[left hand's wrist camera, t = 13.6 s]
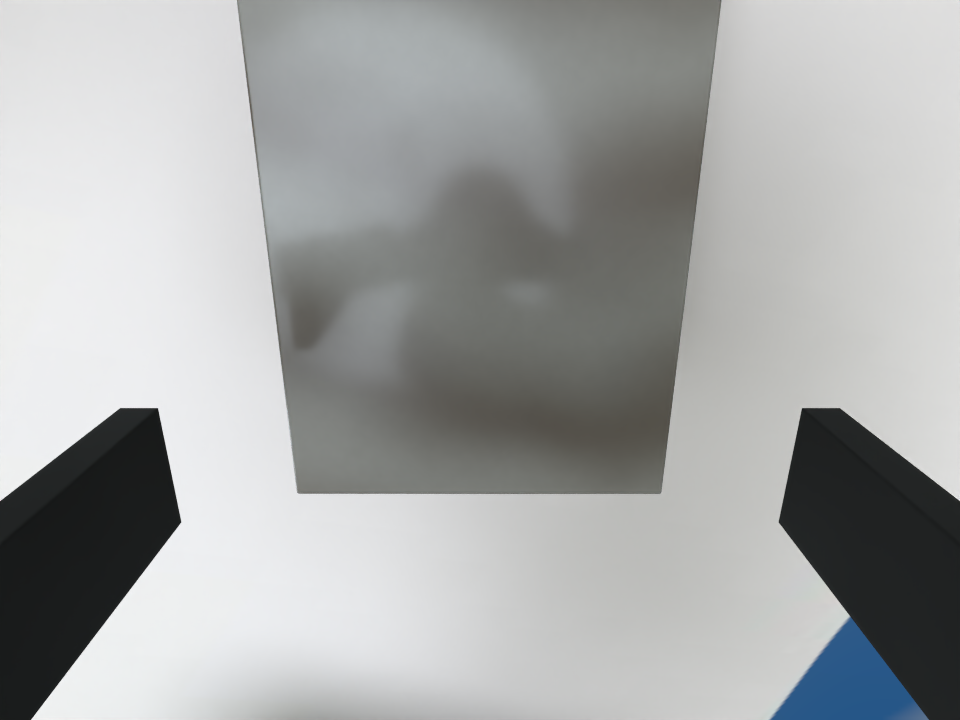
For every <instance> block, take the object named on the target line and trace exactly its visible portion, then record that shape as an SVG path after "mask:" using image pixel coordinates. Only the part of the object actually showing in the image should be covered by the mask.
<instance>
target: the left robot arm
mask: <svg viewBox="0 0 960 720" xmlns="http://www.w3.org/2000/svg"><path fill="white" fill-rule="evenodd" d="M180 523H181V519H180V514H179V509H178V504H177V499H176V494H175V489H174V484H173V480H172V475H171V470H170V465H169V460H168V455H167V450H166V446H165V441H164V436H163V431H162V426H161V421H160V416H159V411H158V408H120V409H119V410H117V411H116V412H115V413H114V414H112V415H111V416H110V417H108V418H107V419H106V420H104V421H103V422H102V423H101V424H99V425H98V426H97V427H95V428H94V429H93V430H92V431H90V432H89V433H88V434H86V435H85V436H84V437H83V438H81V439H80V440H79V441H77V442H76V443H75V444H74V445H72V446H71V447H70V448H68V449H67V450H66V451H64V452H63V453H62V454H61V455H59V456H58V457H57V458H55V459H54V460H53V461H52V462H50V463H49V464H48V465H46V466H45V467H44V468H43V469H41V470H40V471H39V472H37V473H36V474H35V475H33V476H32V477H31V478H30V479H28V480H27V481H26V482H24V483H23V484H22V485H21V486H19V487H18V488H17V489H15V490H14V491H13V492H12V493H10V494H9V495H8V496H6V497H5V498H4V499H2V500H1V501H0V720H31V719H32V718H33V716H34V715H35V714H36V712H37V711H38V710H39V708H40V707H41V706H42V705H43V703H44V702H45V701H46V699H47V698H48V697H49V695H50V694H51V693H52V691H53V690H54V689H55V687H56V686H57V685H58V683H59V682H60V681H61V680H62V678H63V677H64V676H65V674H66V673H67V672H68V670H69V669H70V668H71V666H72V665H73V664H74V662H75V661H76V660H77V659H78V657H79V656H80V655H81V653H82V652H83V651H84V649H85V648H86V647H87V645H88V644H89V643H90V641H91V640H92V639H93V638H94V636H95V635H96V634H97V632H98V631H99V630H100V628H101V627H102V626H103V624H104V623H105V622H106V620H107V619H108V618H109V616H110V615H111V614H112V613H113V611H114V610H115V609H116V607H117V606H118V605H119V603H120V602H121V601H122V599H123V598H124V597H125V595H126V594H127V593H128V592H129V590H130V589H131V588H132V586H133V585H134V584H135V582H136V581H137V580H138V578H139V577H140V576H141V574H142V573H143V572H144V571H145V569H146V568H147V567H148V565H149V564H150V563H151V561H152V560H153V559H154V557H155V556H156V555H157V553H158V552H159V551H160V549H161V548H162V547H163V546H164V544H165V543H166V542H167V540H168V539H169V538H170V536H171V535H172V534H173V532H174V531H175V530H176V528H177V527H178V526H179V525H180ZM779 523H780V525H781V526H782V527H783V528H784V530H785V531H786V532H787V534H788V535H789V536H790V538H791V539H792V540H793V542H794V543H795V544H796V546H797V547H798V548H799V549H800V551H801V552H802V553H803V555H804V556H805V557H806V559H807V560H808V561H809V563H810V564H811V565H812V567H813V568H814V569H815V571H816V572H817V573H818V574H819V576H820V577H821V578H822V580H823V581H824V582H825V584H826V585H827V586H828V588H829V589H830V590H831V592H832V593H833V594H834V595H835V597H836V598H837V599H838V601H839V602H840V603H841V605H842V606H843V607H844V609H845V610H846V611H847V613H848V614H849V615H850V616H851V618H852V619H853V620H854V622H855V623H856V624H857V626H858V627H859V628H860V630H861V631H862V632H863V634H864V635H865V636H866V637H867V639H868V640H869V641H870V643H871V644H872V645H873V647H874V648H875V649H876V651H877V652H878V653H879V654H880V656H881V657H882V658H883V660H884V661H885V662H886V664H887V665H888V666H889V668H890V669H891V670H892V672H893V673H894V674H895V676H896V677H897V678H898V680H899V681H900V682H901V683H902V685H903V686H904V687H905V689H906V690H907V691H908V693H909V694H910V695H911V697H912V698H913V699H914V700H915V702H916V703H917V704H918V706H919V707H920V708H921V710H922V711H923V712H924V714H925V715H926V716H927V718H928V719H929V720H960V501H959V500H958V499H956V498H955V497H954V496H952V495H951V494H950V493H948V492H947V491H946V490H945V489H943V488H942V487H941V486H939V485H938V484H937V483H936V482H934V481H933V480H932V479H930V478H929V477H928V476H927V475H925V474H924V473H923V472H921V471H920V470H919V469H917V468H916V467H915V466H914V465H912V464H911V463H910V462H908V461H907V460H906V459H905V458H903V457H902V456H901V455H899V454H898V453H897V452H896V451H894V450H893V449H892V448H890V447H889V446H888V445H886V444H885V443H884V442H883V441H881V440H880V439H879V438H877V437H876V436H875V435H874V434H872V433H871V432H870V431H868V430H867V429H866V428H865V427H863V426H862V425H861V424H859V423H858V422H857V421H856V420H854V419H853V418H852V417H850V416H849V415H848V414H846V413H845V412H844V411H843V410H841V409H840V408H802V411H801V416H800V421H799V426H798V431H797V436H796V441H795V445H794V450H793V455H792V460H791V465H790V470H789V475H788V480H787V484H786V489H785V494H784V499H783V504H782V509H781V514H780V518H779Z"/></svg>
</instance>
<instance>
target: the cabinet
mask: <svg viewBox="0 0 960 720" xmlns="http://www.w3.org/2000/svg"><path fill="white" fill-rule="evenodd" d="M237 5H238V13H239V21H240V29H241V38H242V46H243V54H244V62H245V70H246V78H247V87H248V95H249V103H250V111H251V119H252V128H253V136H254V144H255V152H256V160H257V168H258V177H259V185H260V193H261V201H262V209H263V217H264V226H265V234H266V242H267V250H268V258H269V267H270V275H271V283H272V291H273V299H274V307H275V316H276V324H277V332H278V340H279V348H280V356H281V365H282V373H283V381H284V389H285V397H286V406H287V414H288V422H289V430H290V438H291V446H292V455H293V463H294V471H295V479H296V487H297V493H299V494H660V493H661V490H662V482H663V474H664V466H665V457H666V449H667V441H668V433H669V425H670V416H671V408H672V400H673V392H674V384H675V376H676V367H677V359H678V351H679V343H680V335H681V326H682V318H683V310H684V302H685V294H686V286H687V277H688V269H689V261H690V253H691V245H692V236H693V228H694V220H695V212H696V204H697V196H698V187H699V179H700V171H701V163H702V155H703V147H704V138H705V130H706V122H707V114H708V106H709V97H710V89H711V81H712V73H713V65H714V57H715V48H716V40H717V32H718V24H719V16H720V7H721V0H237Z"/></svg>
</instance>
